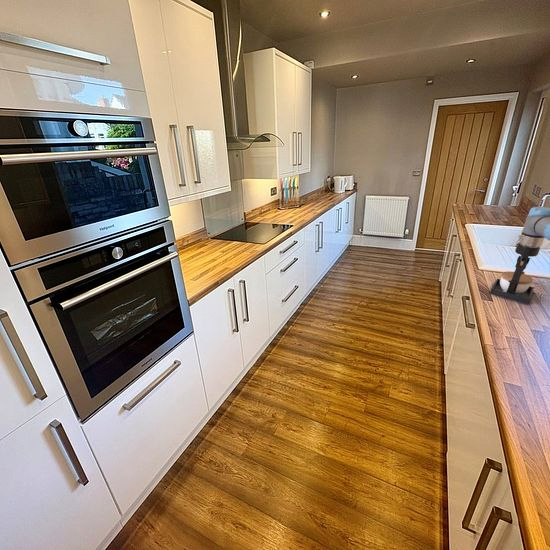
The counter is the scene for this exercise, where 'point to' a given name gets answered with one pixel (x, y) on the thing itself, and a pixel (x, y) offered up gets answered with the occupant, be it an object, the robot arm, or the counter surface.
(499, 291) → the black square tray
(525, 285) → the trinket box
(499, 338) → the counter surface
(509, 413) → the counter surface
